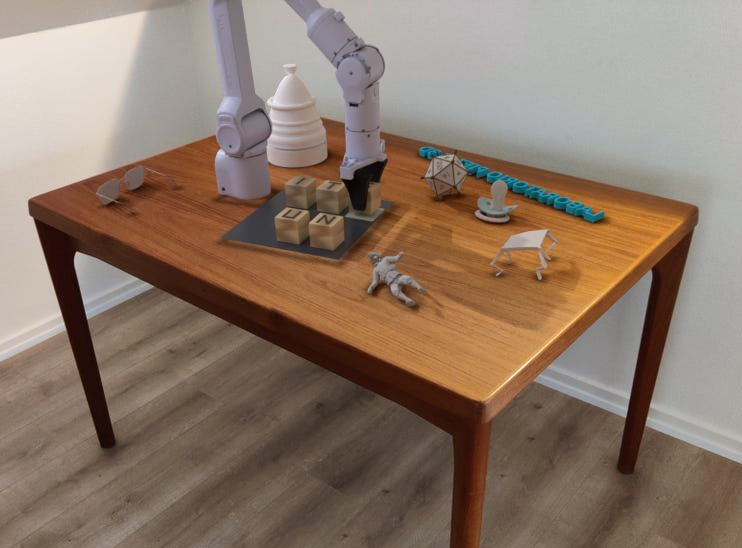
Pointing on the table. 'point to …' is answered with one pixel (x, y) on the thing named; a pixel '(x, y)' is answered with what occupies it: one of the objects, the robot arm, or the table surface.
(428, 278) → the table surface
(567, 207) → the text ornament
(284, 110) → the honey pot
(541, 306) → the table surface
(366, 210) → the block
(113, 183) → the eyeglasses
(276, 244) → the letter board
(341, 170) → the robot arm
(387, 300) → the table surface
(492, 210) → the pacifier
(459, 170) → the game die
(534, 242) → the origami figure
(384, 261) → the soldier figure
